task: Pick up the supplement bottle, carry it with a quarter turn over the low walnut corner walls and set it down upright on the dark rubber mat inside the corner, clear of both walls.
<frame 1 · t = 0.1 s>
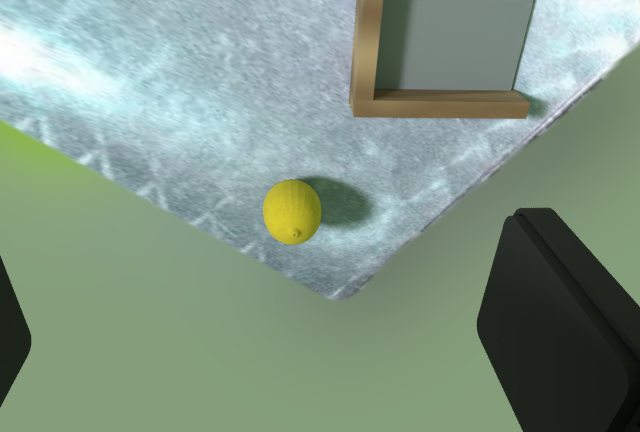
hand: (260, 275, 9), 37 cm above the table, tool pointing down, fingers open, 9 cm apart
corner walls: (445, 16, 43), resting in mat
mat: (452, 10, 42), on the table
lemon: (291, 189, 51), on the table
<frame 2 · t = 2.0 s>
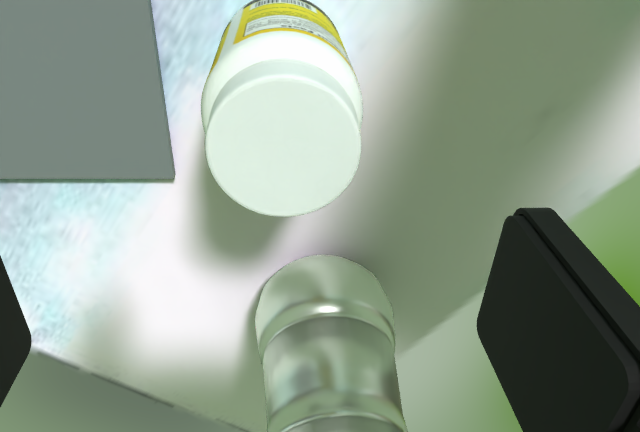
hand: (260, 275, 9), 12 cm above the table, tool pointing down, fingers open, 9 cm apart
plastic bottle: (321, 283, 27), on the table
supplement bottle: (282, 55, 20), on the table
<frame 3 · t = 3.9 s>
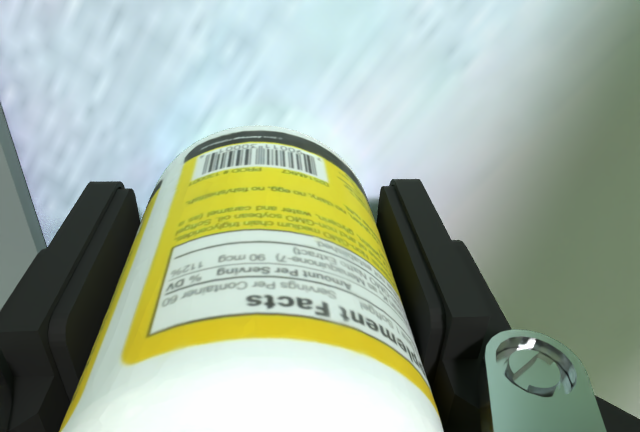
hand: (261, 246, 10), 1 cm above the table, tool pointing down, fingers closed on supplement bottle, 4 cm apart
supplement bottle: (262, 214, 11), on the table, touching gripper
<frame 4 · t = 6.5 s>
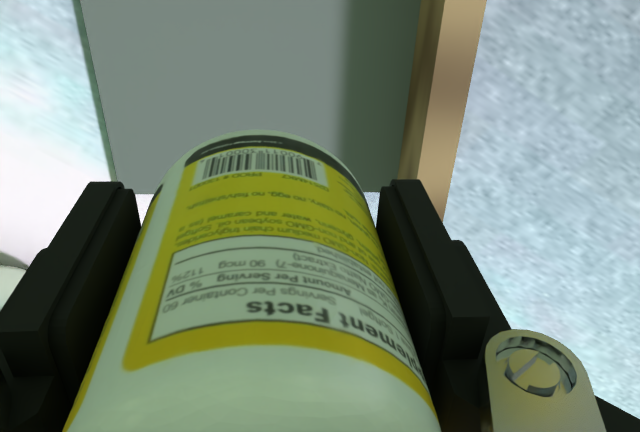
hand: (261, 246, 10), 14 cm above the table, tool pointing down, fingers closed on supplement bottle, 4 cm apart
corner walls: (268, 39, 21), resting in mat
mat: (256, 51, 21), on the table
plastic bottle: (19, 295, 28), on the table
supplement bottle: (262, 218, 11), point 12 cm above the table, touching gripper
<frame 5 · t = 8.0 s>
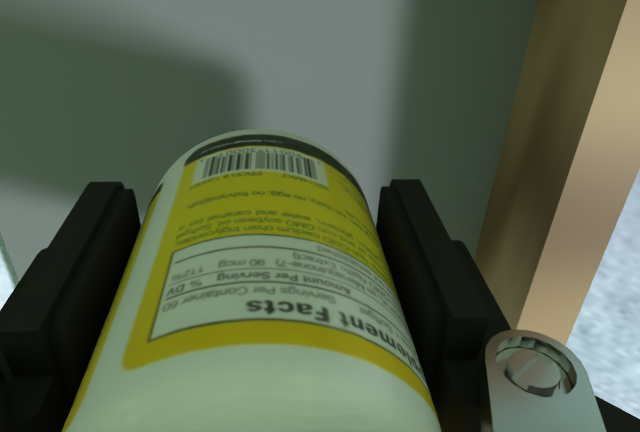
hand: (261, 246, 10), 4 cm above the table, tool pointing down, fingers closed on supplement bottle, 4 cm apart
corner walls: (266, 131, 13), resting in mat
mat: (248, 149, 13), on the table
supplement bottle: (262, 217, 11), point 3 cm above the table, touching gripper
when the fingers open (3 cm above the table, at t = 9.1 s): supplement bottle drops 1 cm, resting on mat.
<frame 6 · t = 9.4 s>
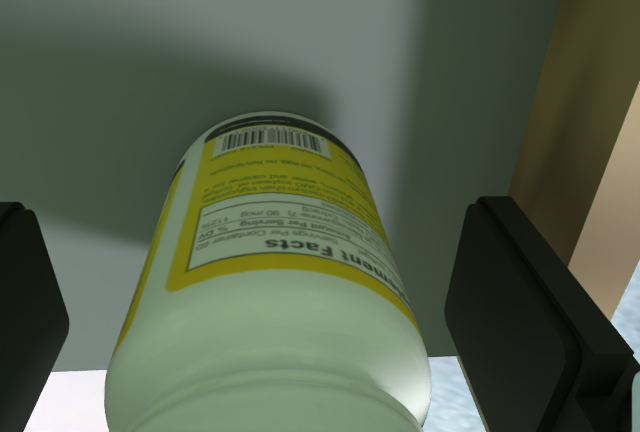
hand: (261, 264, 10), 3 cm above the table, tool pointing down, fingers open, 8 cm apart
corner walls: (262, 144, 12), resting in mat
mat: (242, 163, 12), on the table
supplement bottle: (272, 193, 13), resting on mat
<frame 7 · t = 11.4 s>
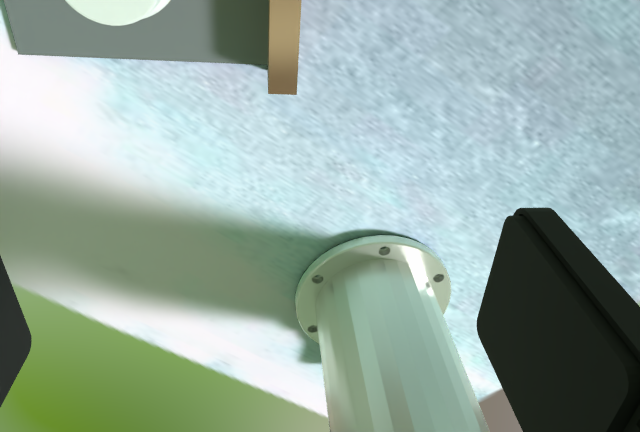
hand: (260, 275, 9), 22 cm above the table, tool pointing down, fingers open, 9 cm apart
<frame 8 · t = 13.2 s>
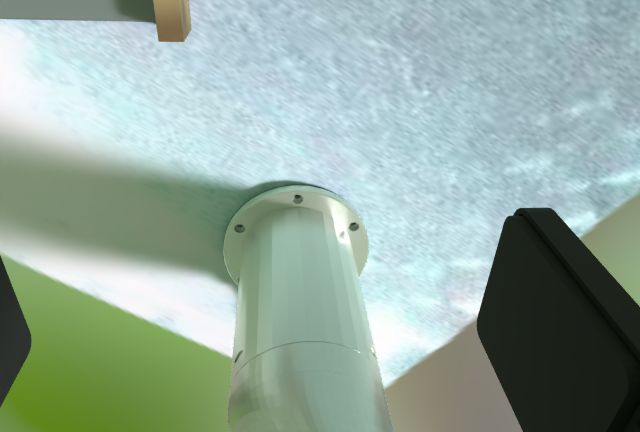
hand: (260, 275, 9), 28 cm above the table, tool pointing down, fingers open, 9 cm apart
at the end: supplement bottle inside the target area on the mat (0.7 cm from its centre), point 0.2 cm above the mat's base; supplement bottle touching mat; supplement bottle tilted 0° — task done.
